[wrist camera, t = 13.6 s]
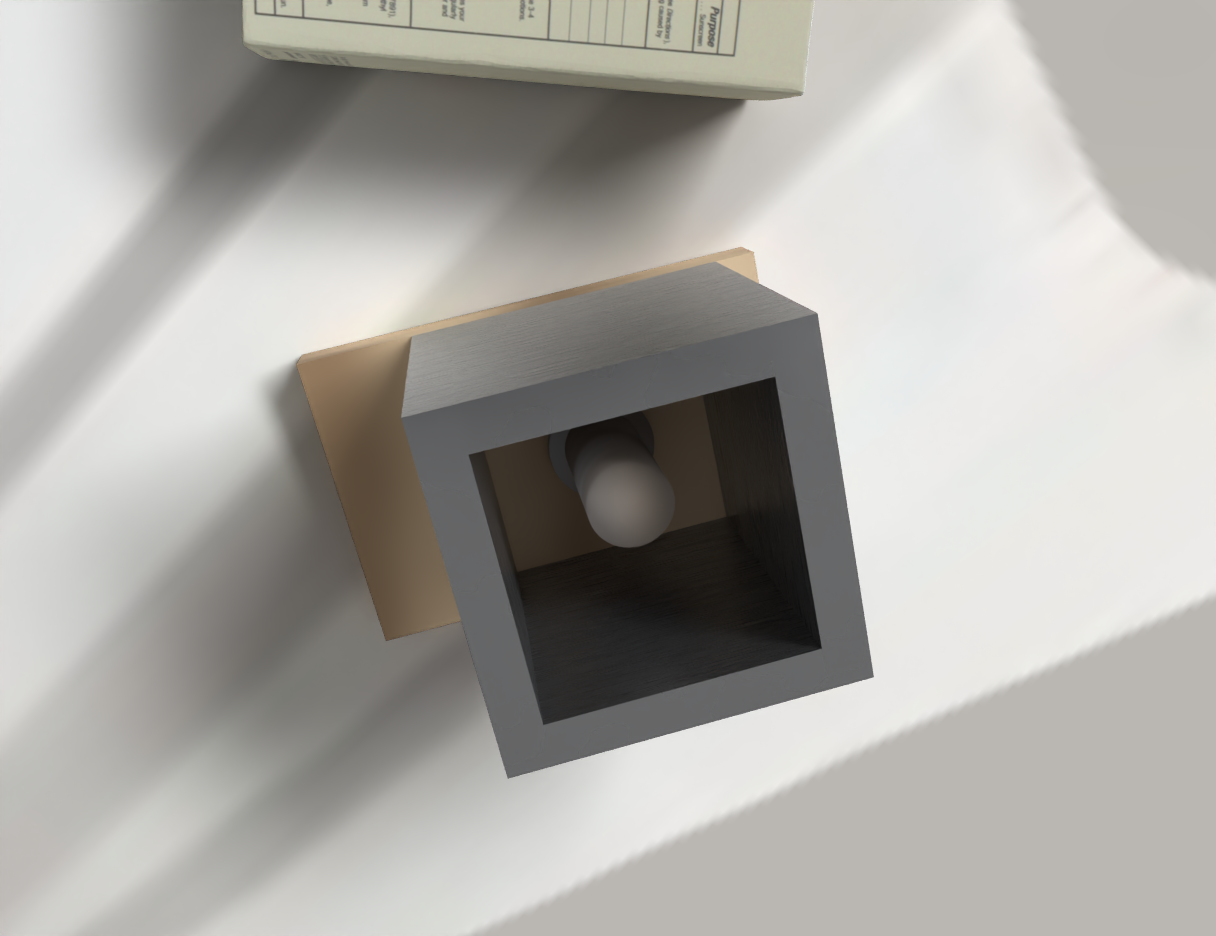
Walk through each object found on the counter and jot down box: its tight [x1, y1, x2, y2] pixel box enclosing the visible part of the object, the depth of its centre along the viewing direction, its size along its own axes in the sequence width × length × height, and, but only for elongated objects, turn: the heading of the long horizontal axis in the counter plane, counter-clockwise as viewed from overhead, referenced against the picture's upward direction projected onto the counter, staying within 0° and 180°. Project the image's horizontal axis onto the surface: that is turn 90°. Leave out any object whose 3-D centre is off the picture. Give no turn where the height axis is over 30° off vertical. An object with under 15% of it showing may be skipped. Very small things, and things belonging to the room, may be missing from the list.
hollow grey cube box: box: [401, 261, 874, 778], centre depth 25 cm, size 8×8×8 cm
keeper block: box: [296, 247, 759, 641], centre depth 27 cm, size 12×8×6 cm, turn 103°
